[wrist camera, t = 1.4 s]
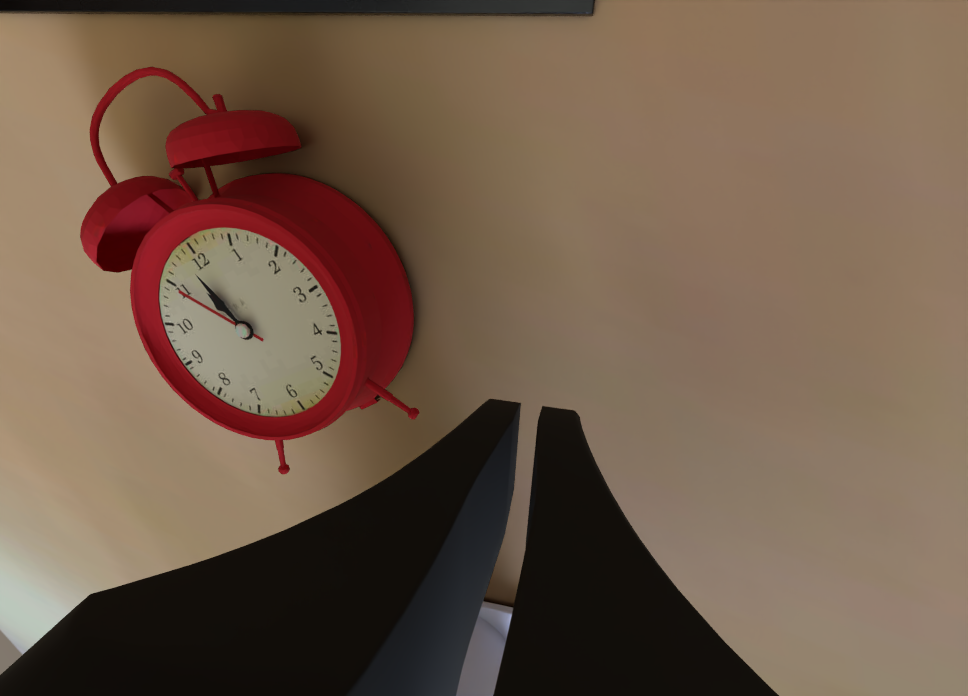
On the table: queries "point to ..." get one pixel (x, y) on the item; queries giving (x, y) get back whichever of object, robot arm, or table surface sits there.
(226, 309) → the alarm clock
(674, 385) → the table surface
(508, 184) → the table surface
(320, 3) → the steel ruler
